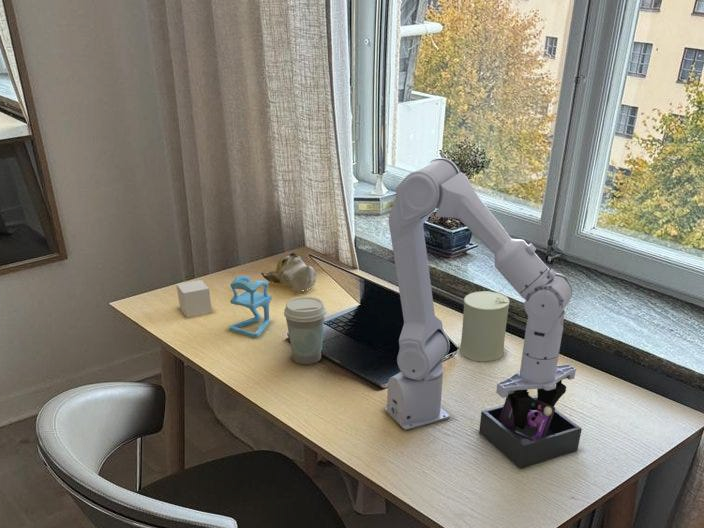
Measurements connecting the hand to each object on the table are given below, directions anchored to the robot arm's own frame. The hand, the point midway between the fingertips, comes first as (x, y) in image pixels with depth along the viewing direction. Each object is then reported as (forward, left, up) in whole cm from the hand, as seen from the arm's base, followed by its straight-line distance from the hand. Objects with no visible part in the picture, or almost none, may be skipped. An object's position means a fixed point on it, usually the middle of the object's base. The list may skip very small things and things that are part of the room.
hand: (530, 422), depth 133 cm
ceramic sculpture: (-10, +84, -4) cm, 84 cm away
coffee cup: (-22, +47, -4) cm, 52 cm away
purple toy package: (0, 0, -2) cm, 2 cm away
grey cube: (-36, +81, -4) cm, 88 cm away
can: (+12, +33, -4) cm, 35 cm away
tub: (0, 0, -4) cm, 4 cm away
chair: (-27, +66, -4) cm, 71 cm away
